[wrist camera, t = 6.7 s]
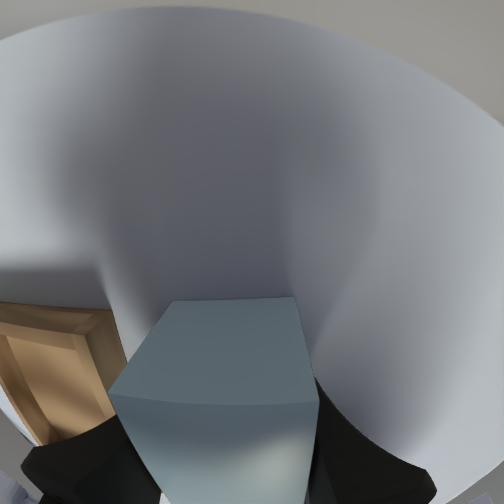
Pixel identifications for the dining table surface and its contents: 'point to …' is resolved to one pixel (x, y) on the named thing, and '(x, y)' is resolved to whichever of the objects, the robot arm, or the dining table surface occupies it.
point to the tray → (59, 367)
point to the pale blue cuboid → (223, 402)
